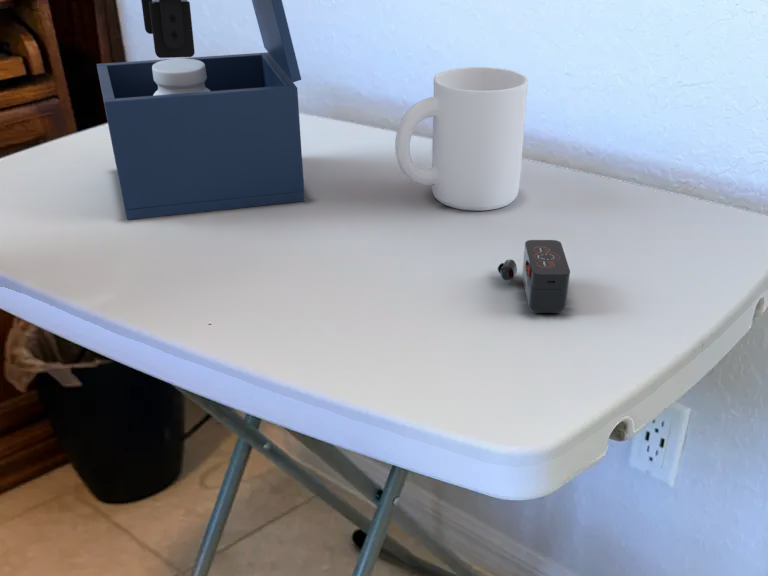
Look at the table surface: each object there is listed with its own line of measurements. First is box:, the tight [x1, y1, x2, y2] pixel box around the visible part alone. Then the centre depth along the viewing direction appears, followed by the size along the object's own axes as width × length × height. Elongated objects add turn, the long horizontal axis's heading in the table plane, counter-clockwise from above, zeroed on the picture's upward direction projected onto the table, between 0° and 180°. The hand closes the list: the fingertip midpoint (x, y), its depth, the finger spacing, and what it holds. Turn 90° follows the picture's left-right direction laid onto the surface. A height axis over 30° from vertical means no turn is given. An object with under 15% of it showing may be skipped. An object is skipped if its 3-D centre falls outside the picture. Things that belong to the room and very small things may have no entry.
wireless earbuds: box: [497, 239, 571, 314], centre depth 71 cm, size 5×7×3 cm, turn 0°
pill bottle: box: [152, 57, 210, 96], centre depth 86 cm, size 6×6×10 cm
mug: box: [394, 66, 529, 212], centre depth 84 cm, size 12×8×10 cm
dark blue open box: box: [96, 51, 306, 221], centre depth 87 cm, size 16×13×10 cm
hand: (169, 44), depth 81 cm, fingers open, 9 cm apart
